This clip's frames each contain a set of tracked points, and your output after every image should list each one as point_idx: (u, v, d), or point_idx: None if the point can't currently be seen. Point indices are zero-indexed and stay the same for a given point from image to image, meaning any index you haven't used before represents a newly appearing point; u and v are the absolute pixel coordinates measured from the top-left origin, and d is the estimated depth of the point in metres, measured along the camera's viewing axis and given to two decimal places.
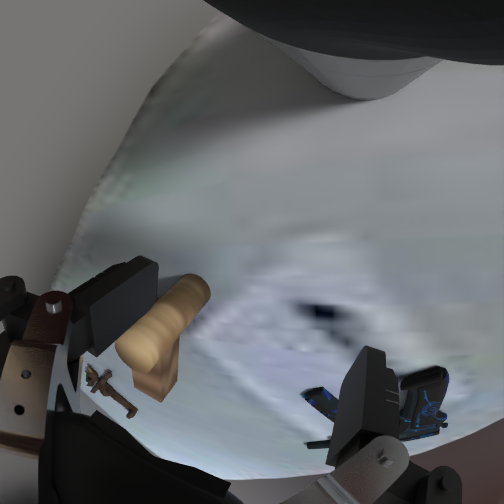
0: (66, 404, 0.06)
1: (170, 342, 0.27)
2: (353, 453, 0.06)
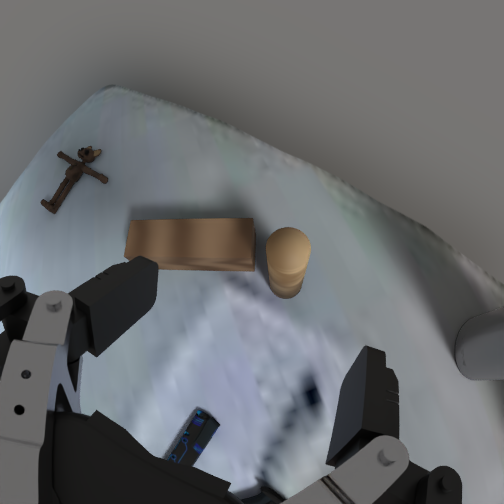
0: (66, 404, 0.06)
1: (288, 280, 0.30)
2: (353, 453, 0.06)
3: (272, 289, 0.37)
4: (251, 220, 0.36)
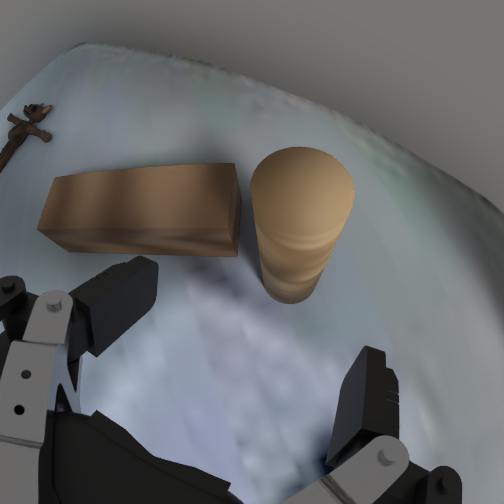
0: (66, 404, 0.06)
1: (300, 266, 0.14)
2: (353, 453, 0.06)
3: (266, 287, 0.21)
4: (231, 166, 0.20)
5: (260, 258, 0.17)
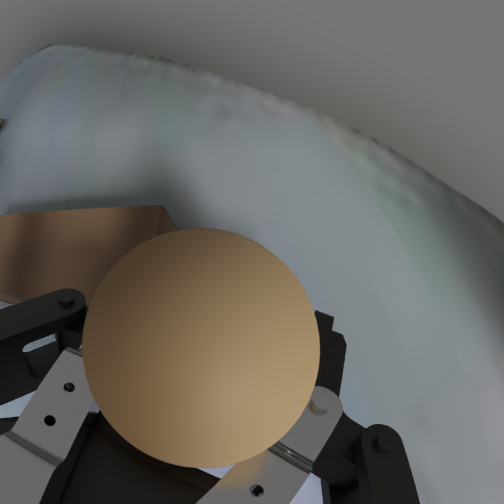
0: None
1: None
2: None
3: None
4: (158, 211, 0.14)
5: None
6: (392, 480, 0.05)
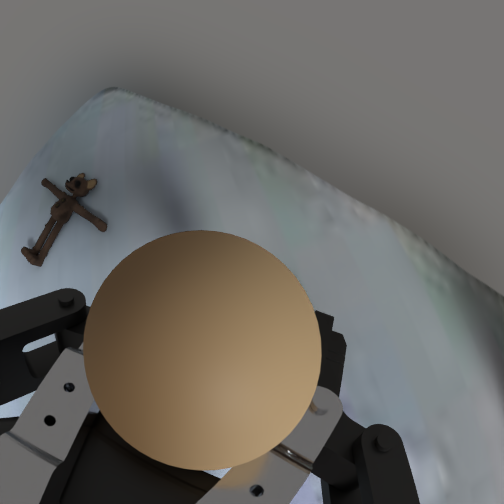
0: None
1: None
2: None
3: None
4: None
5: None
6: (392, 480, 0.05)
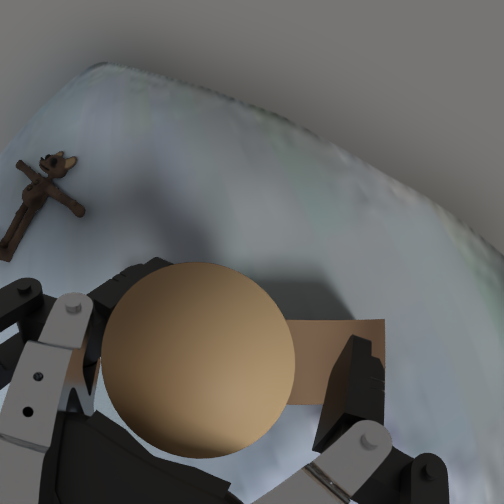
0: (78, 407, 0.06)
1: None
2: (337, 437, 0.06)
3: None
4: (382, 324, 0.17)
5: None
6: None
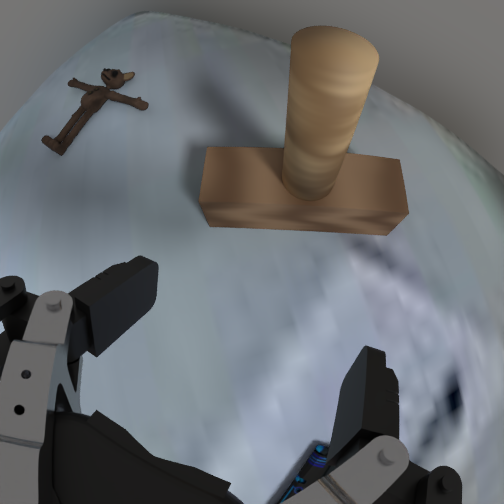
0: (66, 404, 0.06)
1: (332, 124, 0.14)
2: (353, 453, 0.06)
3: (287, 180, 0.21)
4: (398, 162, 0.23)
5: (288, 134, 0.17)
6: None
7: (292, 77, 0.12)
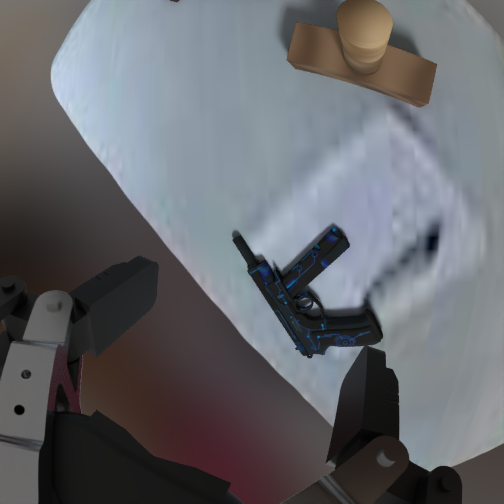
0: (66, 404, 0.06)
1: (361, 54, 0.19)
2: (353, 453, 0.06)
3: (345, 60, 0.25)
4: (435, 65, 0.23)
5: None
6: None
7: (338, 27, 0.17)
